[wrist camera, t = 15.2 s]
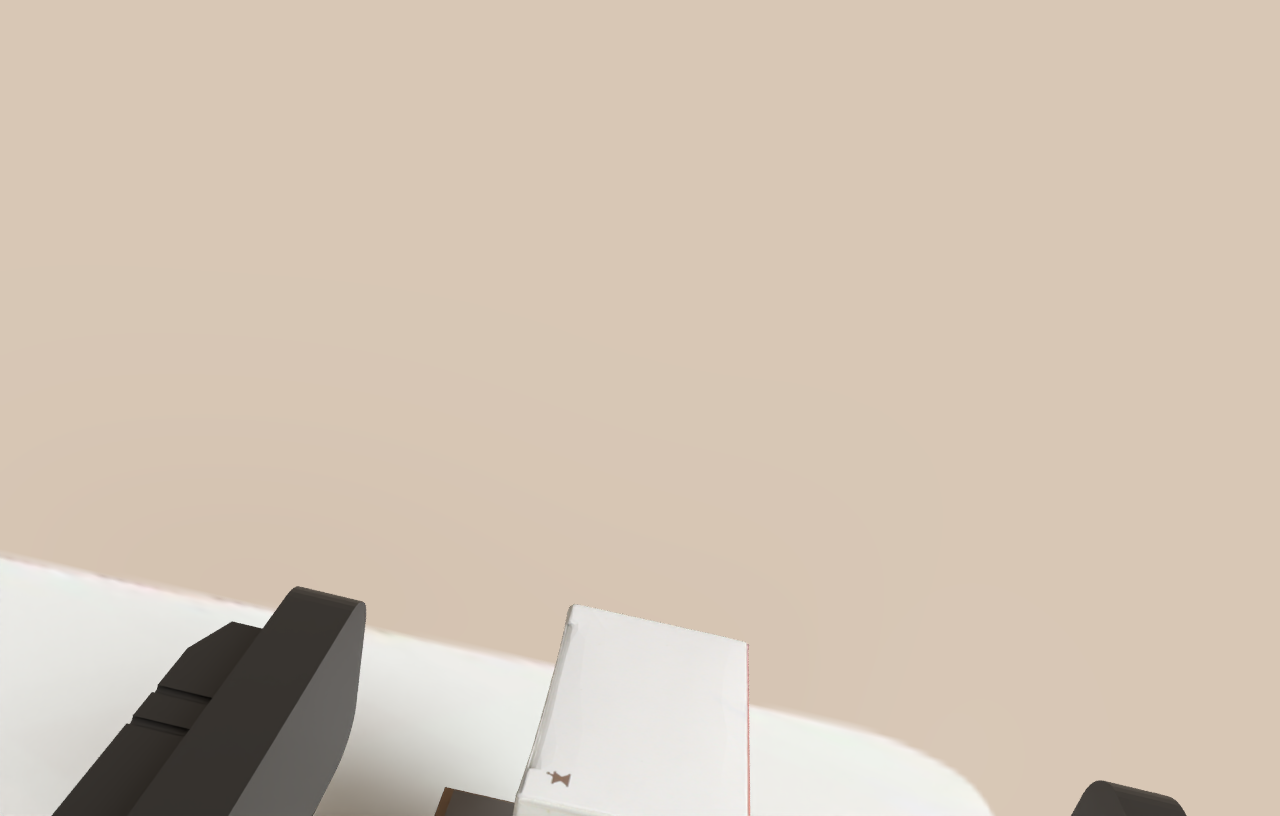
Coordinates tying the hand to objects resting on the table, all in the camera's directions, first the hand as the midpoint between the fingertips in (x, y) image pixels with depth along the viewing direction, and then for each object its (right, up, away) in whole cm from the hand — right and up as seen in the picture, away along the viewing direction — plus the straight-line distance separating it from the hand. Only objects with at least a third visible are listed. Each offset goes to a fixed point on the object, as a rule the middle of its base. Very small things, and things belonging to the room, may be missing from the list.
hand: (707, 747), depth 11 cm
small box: (-2, -14, +20) cm, 24 cm away
